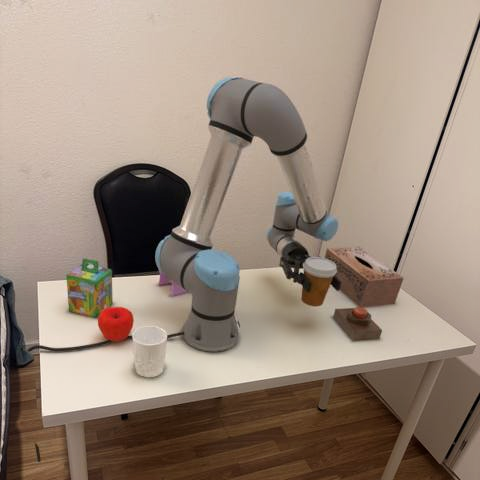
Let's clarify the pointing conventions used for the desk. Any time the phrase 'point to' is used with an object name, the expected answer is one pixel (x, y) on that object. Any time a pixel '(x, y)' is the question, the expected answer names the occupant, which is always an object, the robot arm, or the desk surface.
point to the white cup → (149, 350)
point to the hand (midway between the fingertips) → (324, 287)
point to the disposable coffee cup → (317, 279)
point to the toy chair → (176, 288)
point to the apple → (115, 323)
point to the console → (357, 325)
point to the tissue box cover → (364, 277)
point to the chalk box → (89, 288)
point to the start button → (360, 312)
